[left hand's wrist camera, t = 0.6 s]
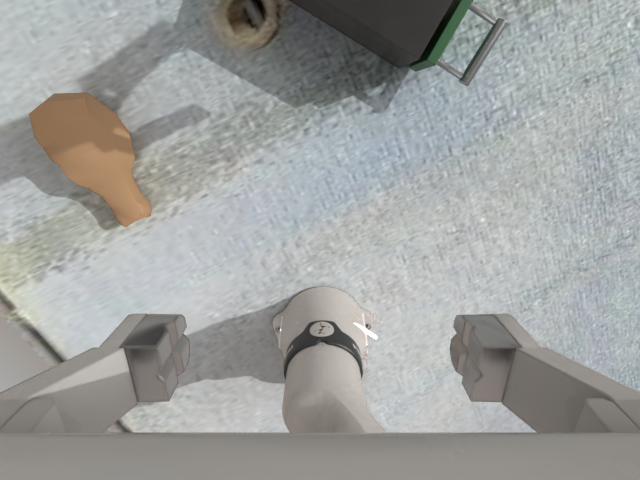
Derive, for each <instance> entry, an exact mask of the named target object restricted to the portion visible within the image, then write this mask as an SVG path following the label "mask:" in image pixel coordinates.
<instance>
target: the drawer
mask: <svg viewBox="0 0 640 480" xmlns="http://www.w3.org/2000/svg"><path fill="white" fill-rule="evenodd" d="M468 9H469V10H471V11H472V12H474V13H475V14H477V15H478V16H480V17H481V18H483V19H484V20H486V21H487V22H488V23H490V24H491V25H493V26H492V28H491V30H490V31H489V33H488V34H487V36H486V38H485V39H484V41H483V42H482V44H481V46H480V47H479V49H478V51H477V52H476V54H475V55H474V57H473V59H472V60H471V62H470V64H469V65H468V67H467V68H466V70H465V72H464V73H463V74H462V73H461V72H459V71H458V70H456V69H455V68H453V67H451V66H450V65H448V64H447V63H445V62H444V61H442V60H441V59H439V58H440V56H441V55H442V53H443V51H444V49H445V48H446V46H447V44H448V43H449V41H450V39H451V38H452V36H453V34H454V32H455V31H456V29H457V27H458V26H459V24H460V22H461V20H462V19H463V17H464V15H465V14H466V12H467V10H468ZM506 25H507V22H506V21H505V20H504V19H501V18H498V19H496V18H495V17H493V16H492V15H490V14H489V13H488V12H486V11H485V10H483V9H482V8H480V7H479V6H477V5H476V4H474V3H473V0H452V2H451V4H450V6H449V7H448V9H447V11H446V13H445V14H444V16H443V18H442V20H441V22H440V23H439V25H438V27H437V29H436V30H435V32H434V34H433V36H432V37H431V39H430V41H429V43H428V44H427V46H426V48H425V50H424V51H423V53H422V55H421V57H420V58H419V60H416V61H414V62H412V63H411V65H410V66H409V68H411V69H413V70H414V71H419V70H422V69H425V68H428V67H431V66H434V65H438V66H440V67H441V68H443V69H444V70H446V71H447V72H449V73H451V74H452V75H454V76H455V77H457V78H458V79H460V80H459V82H460V83H462V84H463V85H466V86H468V85H469V84H470V82H471V81H472V79H473V77H474V76H475V74H476V73H477V71H478V69H479V68H480V66H481V65H482V63H483V62H484V60H485V58H486V57H487V55H488V54H489V52H490V50H491V49H492V47H493V46H494V44H495V42H496V41H497V39H498V38H499V36H500V35H501V33H502V31H503V30H504V28H505V27H506Z"/></svg>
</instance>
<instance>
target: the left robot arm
mask: <svg viewBox="0 0 640 480" xmlns="http://www.w3.org/2000/svg"><path fill="white" fill-rule="evenodd" d="M373 322H374V318H373V315H372V314H371V313H369V312H368V311H366V310H364V309H362V308H361V307H359V305H358V304H357V303H356V302H355V300H354V299H353V298H352V297H351V296H349V295H348V294H347V293H345V292H343V291H341V290H339V289H336V288H331V287H315V288H310V289H307V290H305V291H303V292H301V293H299V294H298V295H296V296H295V297H294V298H293V299H292V300H291V301H290V303H289V304H288V306H287V307H286V309H285V310H284V311H283V312H281V313H279V314H278V315H276V316H275V317H274V318H273V320H272V326H273V329H274V332H275V334H276V337H277V340H278V347H279V349H281V352H282V355H283V358H284V376H285V380H286V381H285V389H284V397H283V405H282V414H283V419H284V423H285V425H286V427H287V429H288V430H289V432H290V433H103V432H104V431H105V430H106V429H108V428H109V427H110V426H111V425H113V424H114V423H115V422H116V421H117V420H119V419H120V418H121V417H122V416H123V415H125V414H126V413H127V412H128V411H130V410H131V409H132V408H133V407H134V406H136V405H137V404H138V403H137V402H161V401H169V400H170V398H171V396H172V394H173V392H174V390H175V388H176V386H177V385H178V379H177V376H178V375H180V374H181V373H183V372H184V371H185V369H186V366H187V364H188V360H189V356H190V344H189V339H188V338H187V337H186V336H185V335H184V334H183V332H184V331H185V329H186V327H187V326H186V321H185V317H184V316H183V315H182V314H130V315H128V316H127V317H126V318H125V319H124V321H123V322H122V323H121V324H120V325H119V326H118V327H117V328H116V329H115V330H114V331H113V333H112V334H111V335H110V336H109V337H108V338H107V339H106V340H105V341H104V342H103V344H102V345H101V346H100V347H99V348H92V349H89V350H87V351H85V352H83V353H81V354H79V355H77V356H75V357H73V358H71V359H69V360H67V361H65V362H63V363H61V364H59V365H56V366H54V367H52V368H50V369H48V370H46V371H44V372H42V373H40V374H38V375H36V376H34V377H32V378H30V379H28V380H26V381H24V382H21V383H19V384H17V385H15V386H13V387H11V388H9V389H7V390H5V391H3V392H1V393H0V480H640V393H639V392H637V391H635V390H633V389H631V388H629V387H627V386H625V385H623V384H620V383H618V382H616V381H614V380H612V379H610V378H608V377H606V376H604V375H602V374H600V373H598V372H596V371H594V370H592V369H590V368H588V367H585V366H583V365H581V364H579V363H577V362H575V361H573V360H571V359H569V358H567V357H565V356H563V355H561V354H559V353H557V352H555V351H553V350H551V349H548V348H541V347H540V346H539V345H538V344H537V342H536V341H535V340H534V339H533V338H532V337H531V336H530V335H529V334H528V333H527V331H526V330H525V329H524V328H523V327H522V326H521V325H520V324H519V323H518V322H517V320H516V319H515V318H514V317H513V316H512V315H510V314H508V313H507V314H481V315H457V316H456V318H455V320H454V325H453V327H454V329H455V331H456V332H457V334H456V335H455V336H454V337H453V338H452V339H451V344H450V355H451V361H452V364H453V367H454V369H455V371H456V372H457V373H459V374H460V375H462V376H463V379H462V385H463V386H464V388H465V390H466V392H467V394H468V396H469V398H470V400H471V401H478V402H502V404H503V405H505V406H506V407H507V408H508V409H509V410H511V411H512V412H513V413H514V414H515V415H517V416H518V417H519V418H520V419H521V420H523V421H524V422H525V423H526V424H528V425H529V426H530V427H531V428H532V429H534V430H535V431H536V432H537V433H387V432H386V431H385V430H384V429H383V428H382V427H381V426H380V424H379V423H378V422H377V421H376V419H375V418H374V416H373V415H372V413H371V411H370V410H369V407H368V405H367V402H366V398H365V394H364V390H363V385H362V380H361V379H362V375H363V372H365V371H367V359H366V358H365V356H368V348H367V346H368V342H369V338H370V336H371V337H373V338H374V339H377V336H376V335H375V334H373V333H372V332H371V330H372V326H373ZM365 324H368V325H366V326H365ZM279 327H280V328H279Z"/></svg>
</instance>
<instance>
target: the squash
mask: <svg viewBox="0 0 640 480" xmlns="http://www.w3.org/2000/svg"><path fill="white" fill-rule="evenodd" d="M29 115H30V120H31V124H32V128H33V133H34V137H35V138H36V140H37V141H38V142H39V144H40V145H41V146H42V148H43V149H44V150H45V152H46V153H47V154H48V156H49V157H50V158H51V160H52V161H54V162H56V163H58V165H59V166H60V167H61V169H62V170H63V171H64V173H65V174H66V175H67V177H68V178H69V179H70V180H71V181H73V182H75V183H76V184H78V185H80V186H82V187H85V188H89V189H91V190H92V191H94V192H96V193H97V194H99V195H101V196H102V197H103V198H104V200H105V201H106V202H107V204H108V205H109V206H110V207H111V209H112V210H113V211H114V215H115V218H116V219H117V221H118V222H119V223H120V224H121V225H123V226H125V227H127V226H129V225H130V224H132V223H133V222H135V221H137V220H140V219H143V218H145V217H149V216H151V211H152V208H151V205H150V202H149V201H148V200H147V199H146V198H145V197H144V196H143V194H142V193H141V191H140V189H139V187H138V186H137V184H136V182H135V181H134V177H133V173H132V167H133V163H134V160H135V154H134V150H133V146H132V142H131V138H130V134H129V132H128V130H127V129H126V127H125V126H124V124H123V123H122V122H121V120H120V119H119V117H118V116H117V114H116V113H115V112H113V111H112V110H111V109H109V108H108V107H106V106H105V105H104V104H102V103H101V102H100V101H98V100H97V99H96V98H94V97H93V96H92V95H90V94H88V93H62V94H53V95H52V96H51V97H49V98H48V99H47V100H46V101H44V102H43V103H42V104H41V105H40V106H38V107H37V108H36V109H35V110H33V111H32V112H31V113H30V114H29Z"/></svg>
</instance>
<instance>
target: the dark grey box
mask: <svg viewBox="0 0 640 480" xmlns="http://www.w3.org/2000/svg"><path fill="white" fill-rule="evenodd" d="M290 1H291V2H293V3H294V4H296V5H298V6H299V7H301V8H302V9H304V10H306V11H307V12H309V13H311V14H312V15H314V16H315V17H317V18H319V19H320V20H322V21H323V22H325V23H327V24H328V25H330V26H332V27H333V28H335V29H336V30H338V31H340V32H341V33H343V34H344V35H346V36H348V37H349V38H351V39H353V40H354V41H356V42H357V43H359V44H361V45H362V46H364V47H365V48H367V49H369V50H370V51H372V52H373V53H375V54H377V55H378V56H380V57H382V58H383V59H385V60H386V61H388V62H390V63H391V64H393V65H394V66H396V67H398V68H400V67H403V66H405V65H407V64H409V63H412V62H414V61H416V60H419V58H420V57H421V55H422V53H423V51H424V50H425V48H426V46H427V44H428V43H429V41H430V39H431V37H432V36H433V34H434V32H435V30H436V29H437V27H438V25H439V23H440V22H441V20H442V18H443V16H444V14H445V13H446V11H447V9H448V7H449V6H450V4H451V2H452V0H290Z"/></svg>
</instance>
